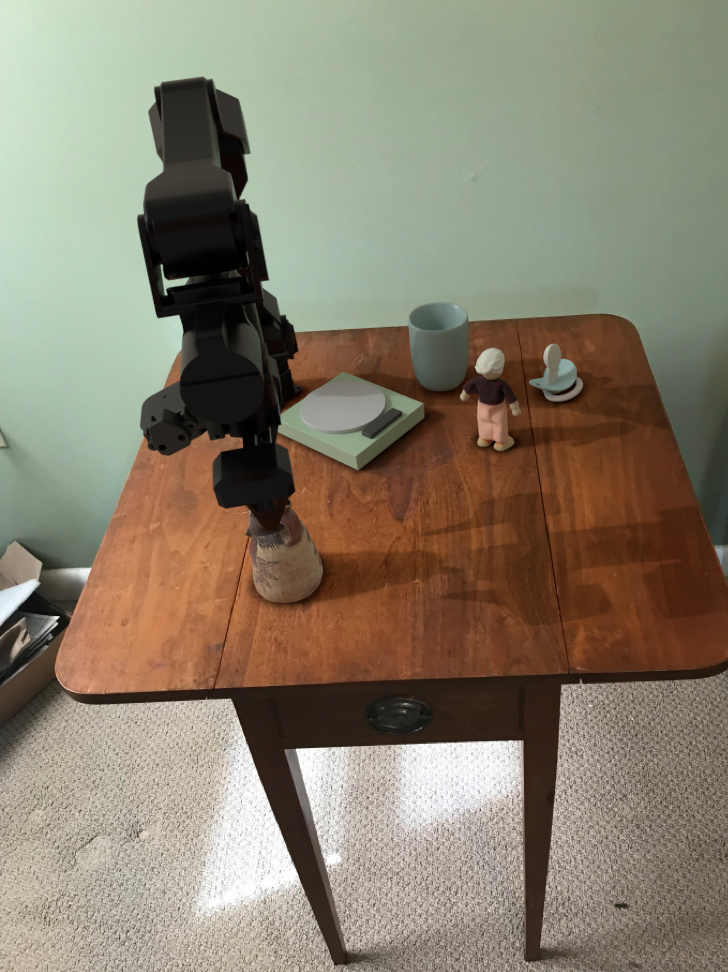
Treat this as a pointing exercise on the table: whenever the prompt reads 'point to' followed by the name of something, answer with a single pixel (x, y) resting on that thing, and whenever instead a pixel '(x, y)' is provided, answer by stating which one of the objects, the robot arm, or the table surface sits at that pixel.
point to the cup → (439, 345)
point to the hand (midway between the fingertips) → (268, 497)
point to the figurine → (284, 559)
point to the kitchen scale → (350, 419)
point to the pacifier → (557, 376)
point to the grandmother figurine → (492, 400)
